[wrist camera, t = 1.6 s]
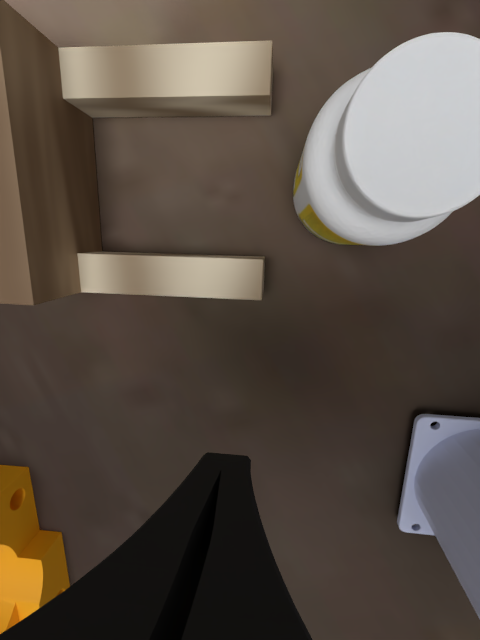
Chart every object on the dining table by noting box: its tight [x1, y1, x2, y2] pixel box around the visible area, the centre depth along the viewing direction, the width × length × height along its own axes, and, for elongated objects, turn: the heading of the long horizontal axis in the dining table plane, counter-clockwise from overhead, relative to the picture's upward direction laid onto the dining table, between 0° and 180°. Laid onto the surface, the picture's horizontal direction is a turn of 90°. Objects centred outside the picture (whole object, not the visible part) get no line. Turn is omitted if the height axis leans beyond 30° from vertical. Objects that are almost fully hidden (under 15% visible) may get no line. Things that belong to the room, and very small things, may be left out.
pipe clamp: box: [0, 465, 70, 634], centre depth 22 cm, size 12×4×6 cm, turn 0°
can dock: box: [0, 0, 273, 305], centre depth 15 cm, size 12×11×6 cm
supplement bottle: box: [293, 32, 480, 246], centre depth 12 cm, size 5×5×10 cm
